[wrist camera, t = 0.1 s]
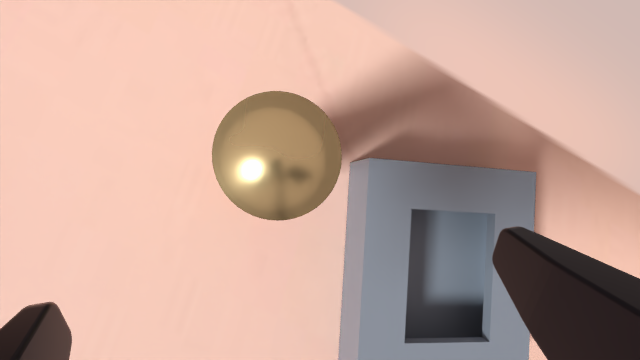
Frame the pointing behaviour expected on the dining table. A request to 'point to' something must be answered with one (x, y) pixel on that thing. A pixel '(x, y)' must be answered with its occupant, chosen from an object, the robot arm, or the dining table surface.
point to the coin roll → (276, 155)
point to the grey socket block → (430, 262)
